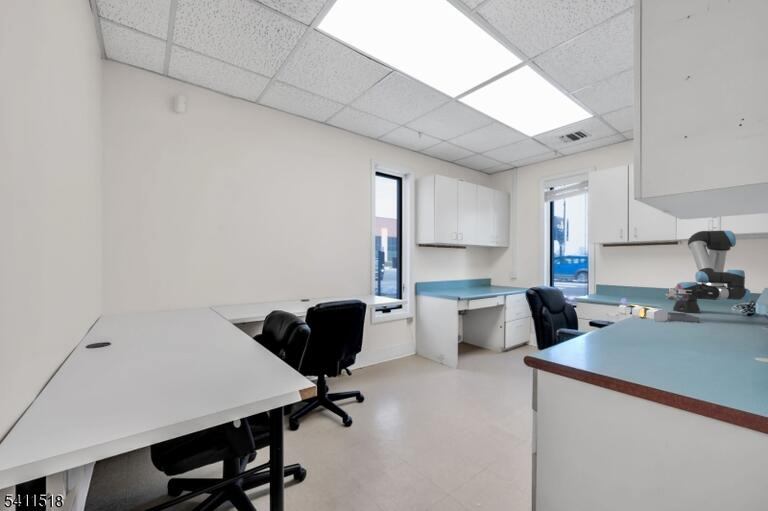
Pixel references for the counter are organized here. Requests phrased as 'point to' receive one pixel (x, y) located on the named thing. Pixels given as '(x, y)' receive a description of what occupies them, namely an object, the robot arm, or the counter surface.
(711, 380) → the counter surface
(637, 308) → the segmented white rod
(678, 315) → the parts bin
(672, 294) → the brake caliper
